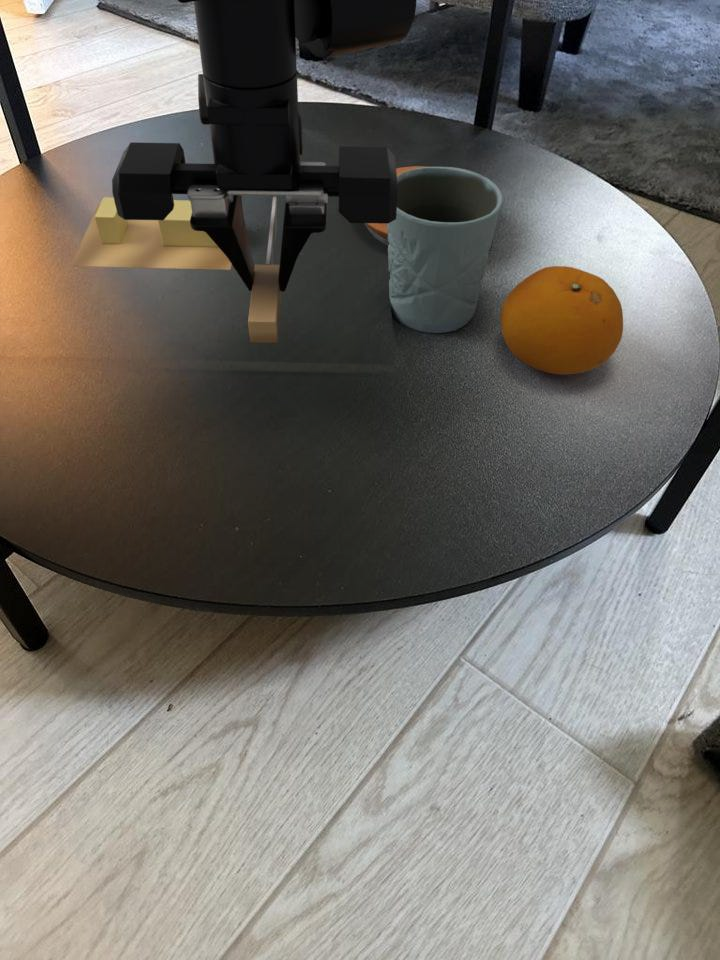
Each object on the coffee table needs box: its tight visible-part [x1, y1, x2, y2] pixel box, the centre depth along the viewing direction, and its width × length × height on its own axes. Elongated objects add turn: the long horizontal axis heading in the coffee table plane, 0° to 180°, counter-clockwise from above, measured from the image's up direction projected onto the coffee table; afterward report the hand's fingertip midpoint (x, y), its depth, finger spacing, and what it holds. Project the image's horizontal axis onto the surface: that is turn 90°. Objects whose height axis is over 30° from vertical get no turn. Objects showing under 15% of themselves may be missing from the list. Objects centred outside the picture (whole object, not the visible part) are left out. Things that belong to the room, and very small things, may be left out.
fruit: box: [500, 265, 624, 376], centre depth 66 cm, size 10×10×8 cm
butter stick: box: [158, 199, 218, 247], centre depth 77 cm, size 7×4×3 cm, turn 90°
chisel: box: [247, 196, 283, 344], centre depth 59 cm, size 17×2×2 cm, turn 1°
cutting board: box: [70, 204, 233, 271], centre depth 78 cm, size 16×12×1 cm
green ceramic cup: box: [387, 166, 504, 334], centre depth 68 cm, size 10×10×12 cm
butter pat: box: [95, 196, 128, 244], centre depth 77 cm, size 2×4×3 cm, turn 0°
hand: (267, 288), depth 57 cm, fingers closed on chisel, 2 cm apart
